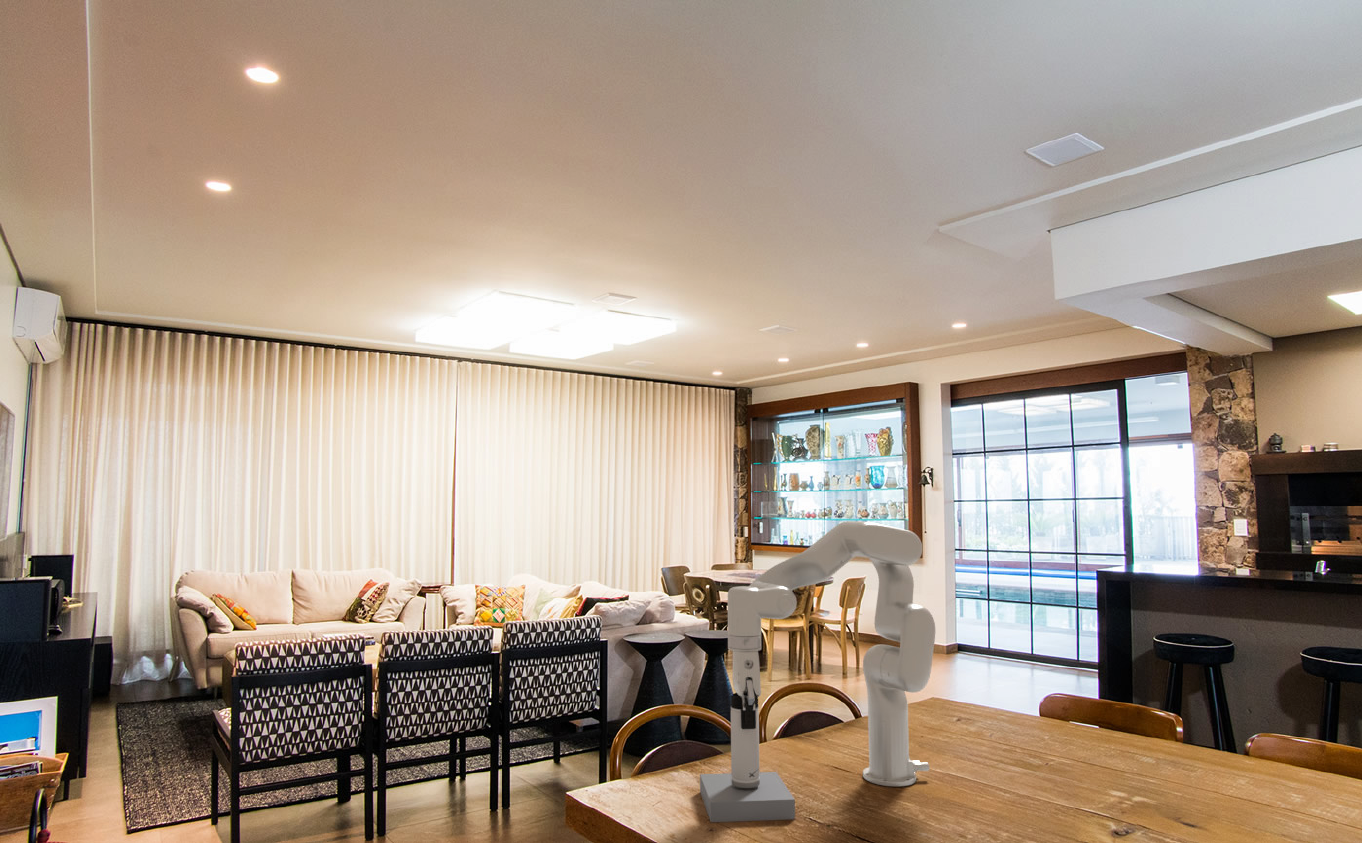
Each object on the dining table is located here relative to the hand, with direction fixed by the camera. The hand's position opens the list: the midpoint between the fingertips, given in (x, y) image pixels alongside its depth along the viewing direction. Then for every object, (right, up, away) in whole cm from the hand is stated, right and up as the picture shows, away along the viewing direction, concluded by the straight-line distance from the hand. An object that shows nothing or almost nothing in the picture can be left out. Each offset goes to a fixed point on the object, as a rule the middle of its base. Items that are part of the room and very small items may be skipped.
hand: (745, 723), depth 181 cm
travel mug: (0, -13, -1) cm, 13 cm away
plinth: (0, -17, -2) cm, 17 cm away
